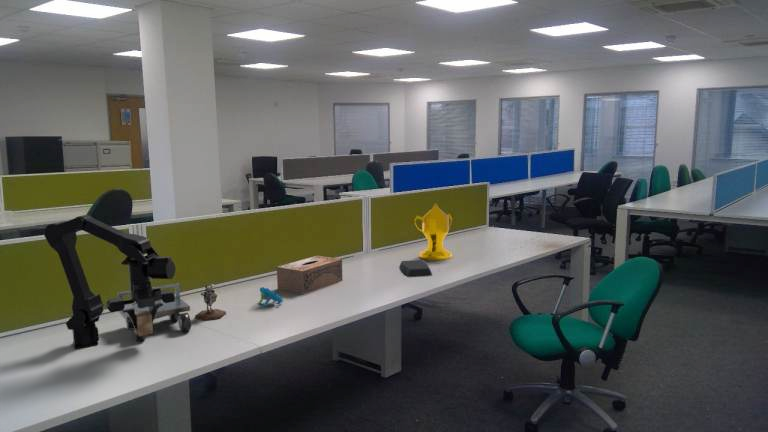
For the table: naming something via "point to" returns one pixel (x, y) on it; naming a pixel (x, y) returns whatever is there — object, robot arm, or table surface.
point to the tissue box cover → (309, 274)
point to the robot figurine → (209, 300)
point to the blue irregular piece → (269, 296)
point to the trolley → (163, 311)
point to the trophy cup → (435, 233)
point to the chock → (144, 322)
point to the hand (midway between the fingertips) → (143, 327)
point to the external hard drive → (415, 268)
